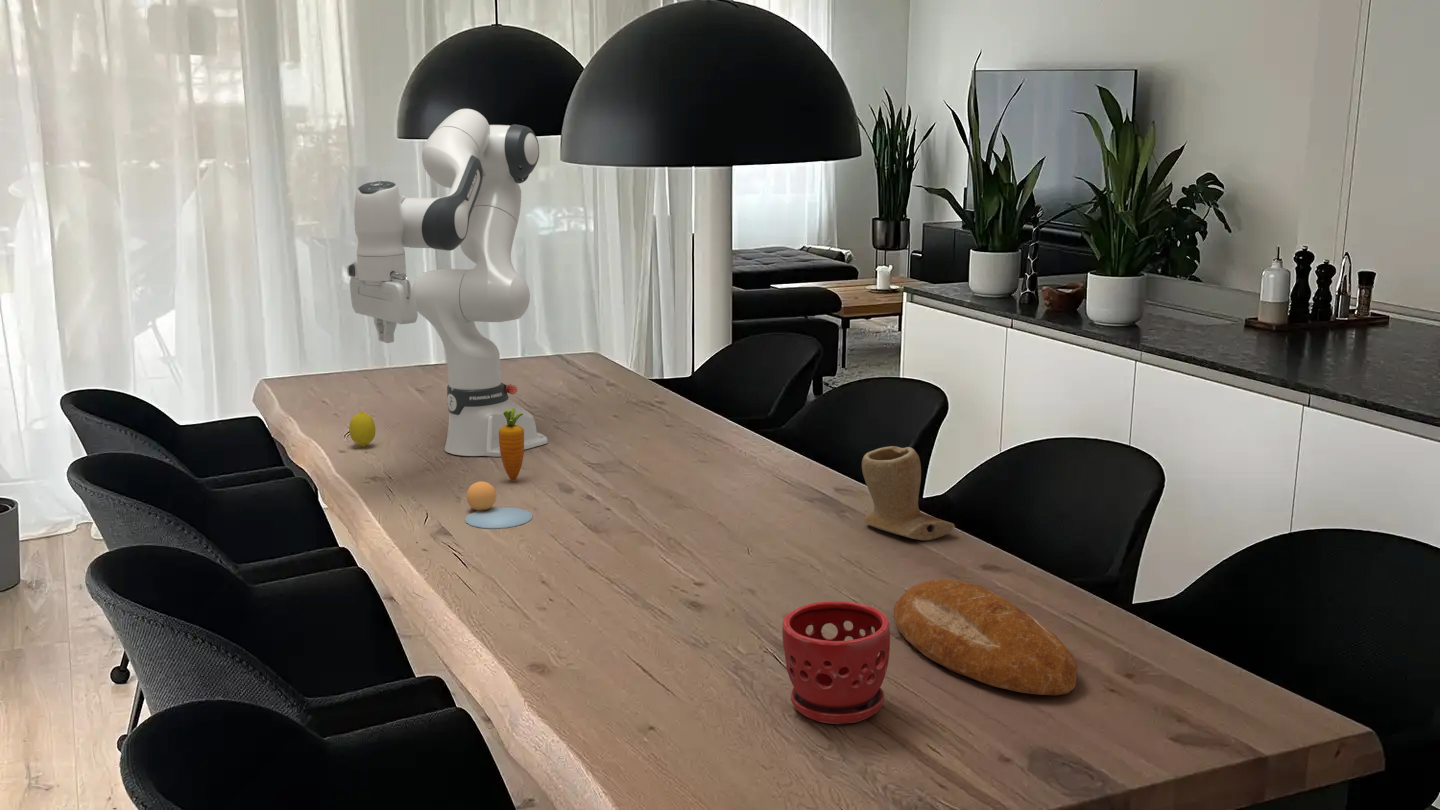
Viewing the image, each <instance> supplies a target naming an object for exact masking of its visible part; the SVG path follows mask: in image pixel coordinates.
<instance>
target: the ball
mask: <svg viewBox="0 0 1440 810" xmlns="http://www.w3.org/2000/svg"><path fill="white" fill-rule="evenodd" d="M466 500H467V503H468V505H469V507H471V508H472V509H473V510H476V511H484V510H487V509H489V508H492V507H493V506H494V505H495V503H496V500H497V492H496V490H495V487H494V486H493V485H492V484H490V483H489V482H486V481H477V482H474V483H473V484H471V485H470V486H469V488H468V489H467V491H466Z"/></svg>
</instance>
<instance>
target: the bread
mask: <svg viewBox="0 0 1440 810" xmlns="http://www.w3.org/2000/svg"><path fill="white" fill-rule="evenodd" d="M893 620H894V624H895V626H896V629H897V630H898V631H899V632H900V634H901V635H902V636H903V638H904V639H905V640H907V642H909V643H910V644H911V645H912V646H914V648H915V649H917V650H918V651H919V652H920V653H921V654H923V656H925V657H926V658H928V659H929V660H931V661H933V662H935V663H937V664H938V665H941V666H942V667H944V668H946V669H947V670H949V671H952V672H953V673H957V674H959V675H962V676H965V677H967V678H970V679H973V680H975V681H978V682H980V683H983V684H986V685H988V686H991V687H996V688H999V689H1003V690H1008V691H1013V692H1017V693H1022V694H1030V695H1038V696H1039V695H1041V696H1043V695H1044V696H1061V695H1067V694H1070V692H1071V691H1072V690H1074V689H1075V688H1076V685H1077V674H1078V664H1077V662H1076V660H1075V657H1074V655H1073V653H1072V652H1071V651H1070V650H1069V648H1067V646H1066V645H1065V644H1064V643H1063V642H1062V640H1061V639H1059V637H1058V636H1057V634H1055V633H1054V632H1052V631H1051V630H1050V629H1049V628H1047V627H1046V626H1045V625H1044V624H1042V622H1040V621H1039V620H1037V619H1036V618H1035V617H1034V616H1033V615H1031V614H1030V613H1028V612H1026V611H1024V610H1022V609H1020V608H1019V607H1017V606H1016V605H1014V604H1013V603H1012V602H1010V601H1008V600H1007V599H1005V598H1003V597H1002V596H1000V595H999V594H996V593H995V592H993V591H991V590H989V589H987V588H985V587H983V586H981V585H980V584H973V583H969V582H966V581H964V580H958V579H957V580H956V579H931V580H926V581H923V582H921V583H918V584H916V585H915V584H914V585H913V586H910V587H909V588H908V589H907V590H906V591H905V592H904V593H903V594H902V595H901V596H900V597H899V598H898V600H897V601H895V605H894V607H893Z"/></svg>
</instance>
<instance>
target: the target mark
mask: <svg viewBox="0 0 1440 810" xmlns="http://www.w3.org/2000/svg"><path fill="white" fill-rule="evenodd" d="M532 519H533V513H532V512H531V511H529V510H526V509H523V508H522V509H521V508H517V507H502V506H501V507H493V508H492V507H491V508H489V509H487V510H484V511H478V510H476V511H474V512H471V513H469V514H468V515H467V516H466V517H465V519H464V521H465V523H466V524H467V523H468V524H467V525H469V526H470V527H475V528H478V529H487V530H489V529H490V530H491V529H493V530H497V529H499V528H500V529H509V528H514V527H518V526H523V525H525V524H526V523H528V522H530V521H531V520H532Z"/></svg>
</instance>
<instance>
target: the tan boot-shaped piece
mask: <svg viewBox="0 0 1440 810" xmlns="http://www.w3.org/2000/svg"><path fill="white" fill-rule="evenodd" d="M861 460H862V461H861V469H862V471H861V472H862V475H863V478H864V479H863V480H864V481H865V484H866V487H867V489H868V491H869V494H870V497H871V499H872V502H873V507H874V509H873V512H871V513H869V514H867V515H865V516H864V519H863V521H864V522H865V523H866V524H867V525H868V526H871V527H873V528H876V529H879V530H882V531H885V532H888V533H891V534H894V535H898V536H902V537H904V538H909V539H914V540H918V541H931V540H935V539H938V538H941V537H943V536H946V535H947V534H949V533H951V532H952V531H954V530H955V527H956V526H955V524H954V523H953V522H949V521H946V520H943V519H941V518H938V517H935V516H933V515H929V514H926V513H924V512H922V511H920V508H919V495H920V488H921V481H922V466H921V460H920V456H919V454H918V453H917V452H916V450H915V449H914V448H912V447H911V446H907V447H899V446H895V445H892V446H891V445H890V446H883V447H879V448H876V449H874V450H871V451H868V452H866V453H865V454H864V455H863V458H862V459H861Z"/></svg>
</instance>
